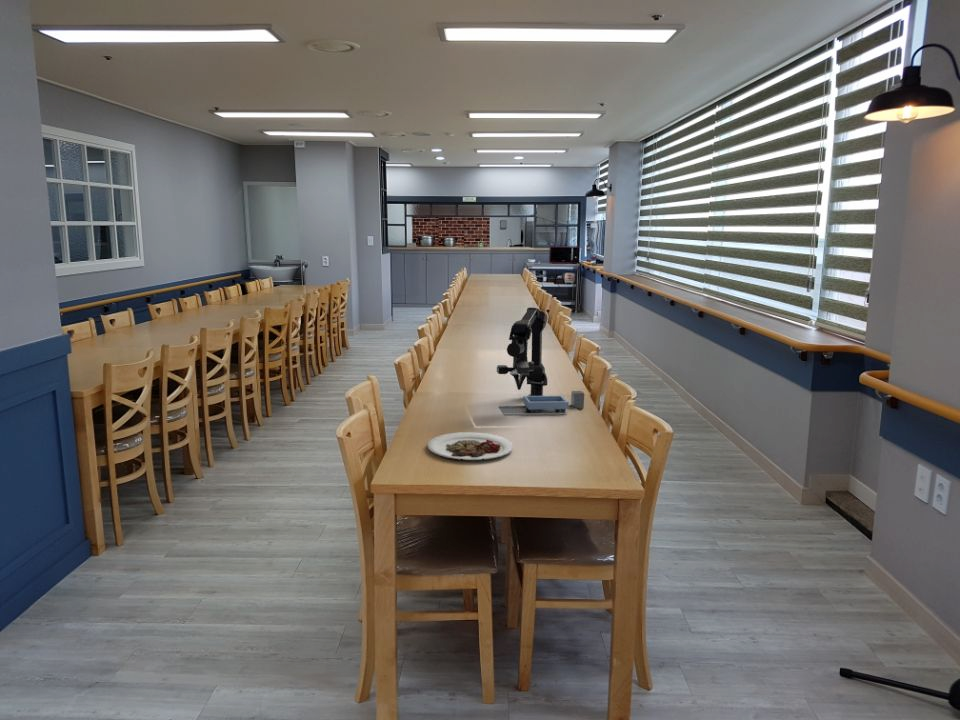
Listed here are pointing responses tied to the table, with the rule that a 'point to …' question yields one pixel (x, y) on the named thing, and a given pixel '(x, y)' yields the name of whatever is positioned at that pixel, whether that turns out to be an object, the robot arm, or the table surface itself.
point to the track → (528, 411)
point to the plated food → (470, 446)
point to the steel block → (577, 399)
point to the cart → (545, 402)
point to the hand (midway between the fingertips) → (518, 389)
